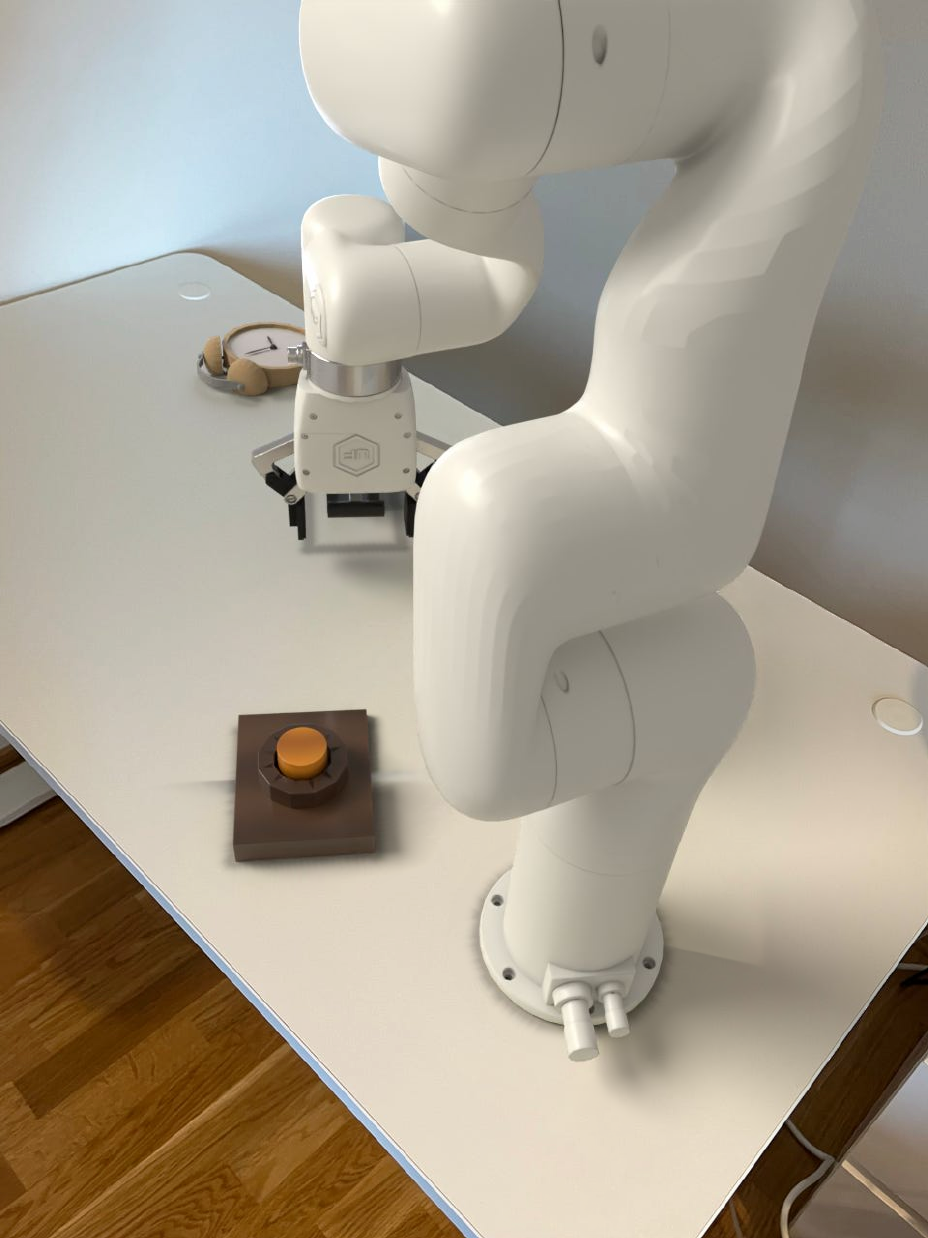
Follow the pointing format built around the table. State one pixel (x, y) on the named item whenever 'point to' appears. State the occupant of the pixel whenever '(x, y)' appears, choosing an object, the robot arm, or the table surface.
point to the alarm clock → (252, 357)
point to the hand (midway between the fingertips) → (355, 528)
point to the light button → (302, 753)
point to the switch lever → (355, 507)
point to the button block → (303, 789)
